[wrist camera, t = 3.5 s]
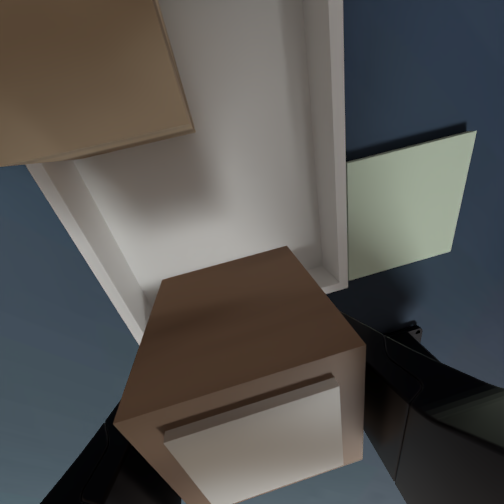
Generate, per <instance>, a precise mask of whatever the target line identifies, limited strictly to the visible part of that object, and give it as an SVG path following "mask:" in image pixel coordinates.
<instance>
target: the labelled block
mask: <svg viewBox="0 0 504 504" xmlns="http://www.w3.org/2000/svg"><path fill="white" fill-rule="evenodd" d="M365 365H366V344H365V343H364V341H363V340H362V339H361V338H360V336H359V335H358V334H357V333H356V331H355V330H354V329H353V328H352V326H351V325H350V324H349V323H348V321H347V320H346V319H345V318H344V316H343V315H342V314H341V313H340V311H339V310H338V309H337V308H336V306H335V305H334V304H333V303H332V301H331V300H330V299H329V298H328V296H327V295H326V294H325V293H324V291H323V290H322V289H321V288H320V286H319V285H318V284H317V283H316V281H315V280H314V279H313V278H312V276H311V275H310V274H309V273H308V271H307V270H306V269H305V268H304V266H303V265H302V264H301V263H300V261H299V260H298V259H297V258H296V256H295V255H294V254H293V253H292V251H291V250H290V249H289V248H288V246H283V247H280V248H276V249H272V250H269V251H265V252H262V253H258V254H254V255H251V256H247V257H243V258H240V259H236V260H232V261H229V262H225V263H221V264H218V265H214V266H210V267H207V268H203V269H199V270H196V271H192V272H189V273H185V274H181V275H178V276H174V277H170V278H167V279H163V280H162V282H161V285H160V288H159V290H158V293H157V296H156V299H155V302H154V305H153V308H152V311H151V314H150V317H149V320H148V323H147V325H146V328H145V331H144V334H143V337H142V340H141V343H140V346H139V349H138V352H137V355H136V358H135V361H134V363H133V366H132V369H131V372H130V375H129V378H128V381H127V384H126V387H125V390H124V393H123V396H122V398H121V401H120V404H119V407H118V410H117V413H116V416H115V419H114V422H113V425H114V426H115V427H116V428H117V429H118V430H119V431H120V432H121V433H122V434H123V436H124V437H125V438H126V439H127V440H128V441H129V442H130V443H131V444H132V445H133V446H134V447H135V449H136V450H137V451H138V452H139V453H140V454H141V455H142V456H143V457H144V458H145V459H146V460H147V462H148V463H149V464H150V465H151V466H152V467H153V468H154V469H155V470H156V471H157V472H158V473H159V475H160V476H161V477H162V478H163V479H164V480H165V481H166V482H167V483H168V484H169V485H170V486H171V488H172V489H173V490H174V491H175V492H176V493H177V494H178V495H179V496H180V497H181V498H182V499H183V500H184V502H185V503H186V504H236V503H239V502H242V501H244V500H247V499H250V498H253V497H256V496H259V495H262V494H265V493H267V492H270V491H273V490H276V489H279V488H282V487H285V486H288V485H290V484H293V483H296V482H299V481H302V480H305V479H308V478H310V477H313V476H316V475H319V474H322V473H325V472H328V471H331V470H333V469H336V468H339V467H342V466H345V465H348V464H351V463H353V462H356V461H359V460H362V457H363V426H364V395H365Z"/></svg>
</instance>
